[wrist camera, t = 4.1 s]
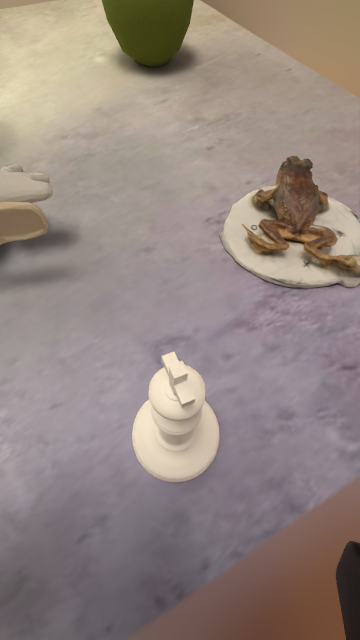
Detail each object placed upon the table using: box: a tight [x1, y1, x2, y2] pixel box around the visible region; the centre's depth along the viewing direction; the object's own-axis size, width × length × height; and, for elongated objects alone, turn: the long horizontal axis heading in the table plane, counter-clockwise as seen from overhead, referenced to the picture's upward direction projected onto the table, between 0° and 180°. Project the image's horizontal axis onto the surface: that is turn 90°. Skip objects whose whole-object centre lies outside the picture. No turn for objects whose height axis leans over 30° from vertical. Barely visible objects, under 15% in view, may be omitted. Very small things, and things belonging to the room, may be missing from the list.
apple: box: [102, 0, 194, 66], centre depth 37 cm, size 11×10×10 cm
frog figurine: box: [219, 156, 360, 288], centre depth 24 cm, size 12×12×4 cm
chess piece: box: [132, 352, 220, 482], centre depth 14 cm, size 5×5×10 cm
